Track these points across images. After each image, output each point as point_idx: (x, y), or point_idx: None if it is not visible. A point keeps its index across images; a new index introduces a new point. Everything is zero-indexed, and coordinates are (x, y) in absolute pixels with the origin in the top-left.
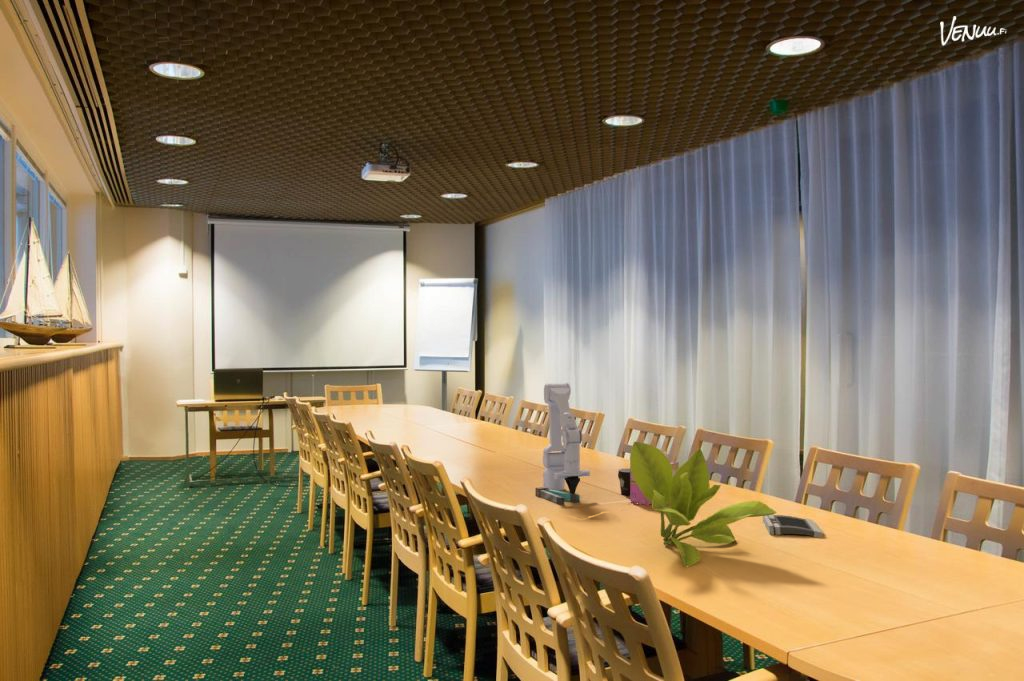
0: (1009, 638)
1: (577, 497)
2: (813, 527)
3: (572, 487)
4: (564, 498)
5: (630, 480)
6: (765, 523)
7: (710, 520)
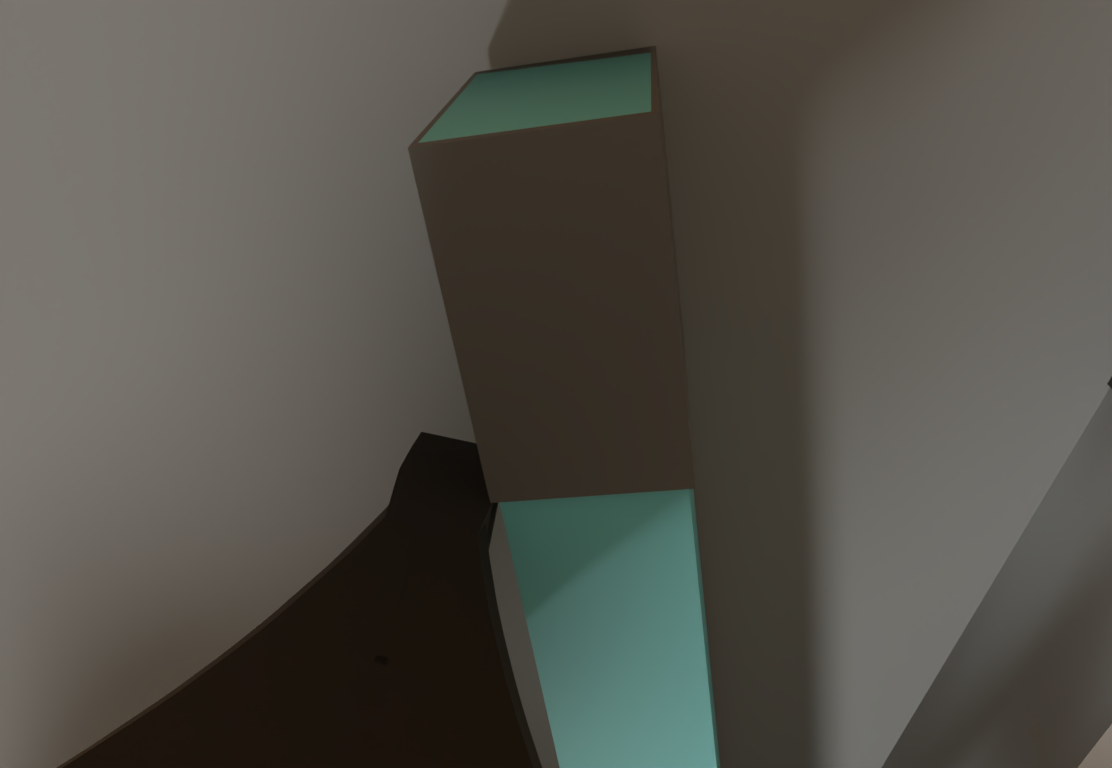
0: None
1: (582, 95)
2: None
3: (520, 727)
4: (702, 589)
5: None
6: None
7: None
